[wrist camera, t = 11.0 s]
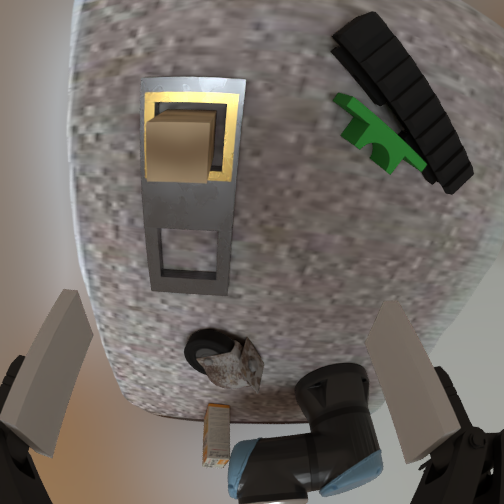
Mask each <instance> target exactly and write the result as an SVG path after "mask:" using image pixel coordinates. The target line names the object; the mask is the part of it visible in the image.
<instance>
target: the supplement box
mask: <svg viewBox="0 0 504 504" xmlns="http://www.w3.org/2000/svg"><path fill="white" fill-rule="evenodd" d="M229 460H230V406H229V405H221V404H211V403H209V405H208V408H207V412H206V415H205V417H204V436H203V463H202V466H203V467H211V468H224V466H225V465H226V464H227V463H228V461H229Z"/></svg>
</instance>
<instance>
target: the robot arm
mask: <svg viewBox="0 0 504 504" xmlns="http://www.w3.org/2000/svg"><path fill="white" fill-rule="evenodd" d="M92 337H93V332H92V330H91V327H90V325H89V322H88V319H87V316H86V314H85V311H84V308H83V305H82V302H81V299H80V296H79V293H78V291H77V290H67V289H63V291H62V292H61V294H60V296H59V297H58V299H57V301H56V302H55V304H54V306H53V307H52V309H51V311H50V312H49V314H48V316H47V318H46V320H45V321H44V323H43V325H42V327H41V329H40V330H39V332H38V334H37V336H36V338H35V340H34V342H33V343H32V346H31V347H30V349H29V351H28V353H27V355H26V357H25V356H22V355H19V356H18V357H17V358H16V359H15V360H14V361H13V362H12V363H11V365H10V367H9V369H8V371H7V373H6V376H5V377H4V379H3V382H2V383H3V384H1V386H0V504H53V503H52V502H51V500H50V498H49V496H48V494H47V491H46V489H45V487H44V485H43V483H42V481H41V479H40V477H39V474H38V472H37V470H36V467H35V465H34V462H33V460H32V457H31V455H30V454H29V452H28V450H29V447H30V448H32V449H33V450H34V451H35V452H37V453H39V454H42V455H44V456H47V457H50V458H53V454H54V450H55V446H56V442H57V439H58V435H59V432H60V428H61V425H62V421H63V418H64V415H65V412H66V409H67V405H68V403H69V400H70V397H71V394H72V391H73V388H74V385H75V382H76V379H77V376H78V374H79V371H80V368H81V365H82V363H83V360H84V358H85V355H86V352H87V350H88V347H89V345H90V342H91V340H92ZM365 345H366V348H367V350H368V353H369V356H370V358H371V361H372V364H373V366H374V369H375V372H376V374H377V377H378V380H379V383H380V385H381V388H382V391H383V394H384V397H385V400H386V403H387V405H388V408H389V411H390V414H391V417H392V420H393V423H394V426H395V429H396V433H397V435H398V439H399V442H400V445H401V449H402V452H403V455H404V459H405V462H406V464H409V463H412V462H415V461H418V460H421V459H423V458H424V457H426V456H427V455H428V454H430V456H431V459H430V460H428V461H427V462H425V463H424V464H422V465H421V466H420V468H419V469H418V470H421V469H423V468H425V467H426V468H425V470H424V471H423V472H424V474H423V476H422V478H421V481H420V483H419V485H418V488H417V490H416V492H415V494H414V496H413V499H412V501H411V503H410V504H504V429H503V430H502V431H501V432H499V433H485V432H484V431H483V430H482V429H480V428H479V427H473V426H472V424H471V422H470V420H469V418H468V416H467V413H466V411H465V409H464V407H463V404H462V402H461V400H460V398H459V396H458V395H457V392H456V390H455V388H454V387H453V383H452V381H451V379H450V377H449V375H448V374H447V373H446V372H445V371H444V370H443V369H442V368H441V367H440V366H438V367H433V365H432V363H431V362H430V359H429V357H428V355H427V353H426V351H425V349H424V347H423V346H422V344H421V342H420V340H419V338H418V336H417V334H416V332H415V331H414V329H413V327H412V325H411V323H410V321H409V320H408V318H407V316H406V314H405V312H404V311H403V309H402V307H401V305H400V304H399V302H398V301H384V302H383V304H382V306H381V309H380V311H379V313H378V316H377V318H376V320H375V322H374V325H373V327H372V329H371V331H370V333H369V335H368V338H367V340H366V342H365ZM295 395H296V400H297V403H298V405H299V406H300V408H301V410H302V412H303V413H304V415H305V417H306V418H307V420H308V422H309V425H310V430H311V433H305V434H297V435H290V436H282V437H273V438H258V439H253V440H244V441H240V442H238V443H237V444H236V445H235V446H234V448H233V450H232V453H231V456H230V461H229V468H228V483H229V484H228V492H229V495H230V497H232V498H234V499H238V500H239V504H306V503H307V502H308V495H307V492H311V491H316V490H320V491H319V493H320V494H321V495H322V496H323V497H327V496H332V495H336V494H340V493H343V492H346V491H349V490H352V489H354V488H357V487H359V486H362V485H364V484H366V483H368V482H370V481H371V480H373V479H375V478H377V477H378V476H379V475H380V474H381V472H382V470H383V462H382V457H381V449H380V448H379V444H378V440H377V436H376V433H375V429H374V426H373V422H372V419H371V416H370V412H369V409H368V398H369V378H368V375H367V372H366V370H365V369H364V368H363V367H362V366H360V365H356V364H349V363H345V364H336V365H331V366H327V367H324V368H321V369H318V370H316V371H314V372H312V373H310V374H308V375H307V376H305V377H304V378H302V379H301V380H300V381H299V382H298V384H297V385H296V387H295ZM492 468H493V474H492V475H491V472H490V470H491V469H492Z"/></svg>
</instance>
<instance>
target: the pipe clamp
mask: <svg viewBox="0 0 504 504" xmlns="http://www.w3.org/2000/svg"><path fill="white" fill-rule="evenodd" d="M333 101H334V102H335V103H336V104H338V105H339V106H340V107H342V108H343V109H344V110H346V111H347V112H348V113H350V114H351V115H352V116H353V117H354V118H353V119H352V120H351V122H350V123H349V124H348V126H347V127H346V129H345V130H344V131H343V133H342V134H341V135H340V136H342V137H343V138H344V139H346V140H347V141H349V142H350V143H351V144H353V145H354V146H356V147H357V148H358V149H361V148H362V147H363V146H365V145H366V144H369V143H372V145H373V151H372V155H371V157H370V159H371V160H372V161H374V162H375V163H376V164H377V165H379V166H380V167H381V168H382V169H384V170H385V171H386V172H387V173H389V174H390V175H391V173H392V172H393V171H394V169H395V168H396V167H397V165H398V164H399V163H400V162H401V160H402V159H403V160H405V161H406V162H408V163H409V164H410V165H412V166H413V167H415V168H416V169H418V170H419V171H420V172H422V171H423V169H424V168H425V167H426V165H427V164H426V163H425V162H424V161H423V160H422V158H421V157H420V156H419V155H418V154H417V153H416V152H415V151H414V150H413V149H412V148H411V147H410V146H409V145H408V144H407V143H405V142H404V141H403V140H402V139H401V138H400V137H399V136H398V135H397V134H396V133H395V132H394V131H393V130H392V129H391V128H389V127H388V126H387V125H386V124H385V123H384V122H383V121H382V120H381V119H379V118H378V117H377V116H376V115H375V114H374V113H372V112H371V111H370V110H369V109H368V108H367V107H365V106H364V105H363V104H362V103H361V102H359V101H358V100H357V99H356V98H354V97H353V96H349V95H345V94H342V93H338V94H337V95H336V97H335V98H334V99H333Z"/></svg>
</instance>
